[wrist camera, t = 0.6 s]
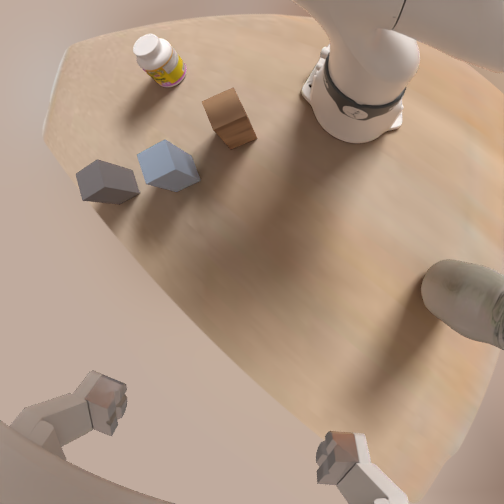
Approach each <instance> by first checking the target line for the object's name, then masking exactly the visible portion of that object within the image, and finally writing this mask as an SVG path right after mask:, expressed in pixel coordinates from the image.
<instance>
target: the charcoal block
mask: <svg viewBox="0 0 504 504" xmlns="http://www.w3.org/2000/svg"><path fill="white" fill-rule="evenodd" d="M76 177H77V181H78V185H79V189H80V193H81V196H82V200H83V201H92V202H102V203H112V204H121V203H123V202H125V201H127V200H129V199H130V198H132V197H134V196H136V195H138V194H140V192H139V189H138V186H137V183H136V179H135V176H134V173H133V170H130V169H127V168H124V167H120V166H117V165H114V164H111V163H107V162H104V161H101V160H96V161H94V162H93V163H91V164H90V165H88V166H87V167H85V168H84V169H82V170H81V171H79V172H78V173H76Z"/></svg>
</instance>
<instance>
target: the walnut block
mask: <svg viewBox="0 0 504 504" xmlns="http://www.w3.org/2000/svg"><path fill="white" fill-rule="evenodd" d="M202 104H203V106H204V108H205V111H206V113H207V116H208V118H209V121H210V123H211V126H212V128H213V130H214V131H215V132H216V133H217V135H218V136H219V137H220V138H221V139H222V140H223V141H224V142H225V143H226V145H227V146H228V147H229V148H230V149H234V148H236V147H238V146H241V145H243V144H245V143H248V142H250V141H253V140H255V139H257V137H256V134H255V132H254V130H253V128H252V125H251V123H250V121H249V119H248V116H247V114H246V112H245V110H244V108H243V106H242V104H241V102H240V100H239V98H238V96H237V94H236V91H235V89H234V88H231V89H229V90H227V91H224V92H222V93H220V94H217V95H215V96H213V97H211V98H209V99H206V100H204V101H202Z"/></svg>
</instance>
